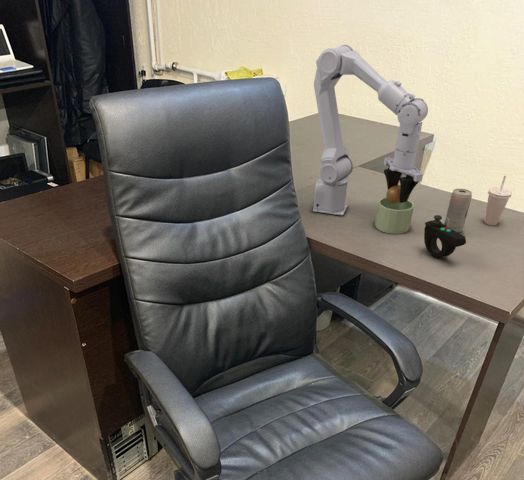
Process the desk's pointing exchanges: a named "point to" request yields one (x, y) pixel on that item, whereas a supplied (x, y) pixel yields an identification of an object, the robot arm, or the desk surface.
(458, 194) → the energy drink
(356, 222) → the desk surface
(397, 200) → the bean
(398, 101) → the robot arm
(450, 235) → the controller
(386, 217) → the cup
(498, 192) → the smoothie
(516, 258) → the desk surface
